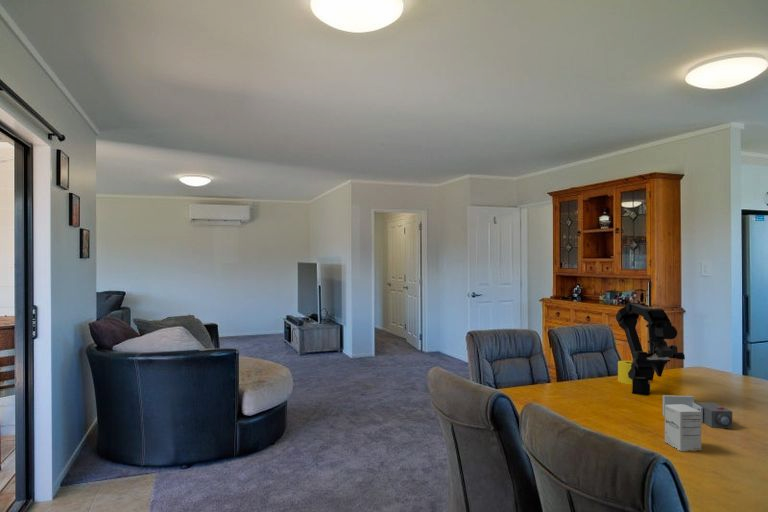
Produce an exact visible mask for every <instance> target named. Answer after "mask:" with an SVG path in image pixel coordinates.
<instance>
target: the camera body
mask: <svg viewBox="0 0 768 512" xmlns="http://www.w3.org/2000/svg"><path fill="white" fill-rule="evenodd" d="M694 403H695V404H697V405H699V406H701V407H703V424H705V425H707V426H708V427H710V428H712V429H713V428H715V429H733V410H731V409H728V408H726V407H725V406H722V405H720V404H718V403H716V402H708V401H707V402H705V401H704V402H703V401H702V402H701V401H694Z"/></svg>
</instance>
